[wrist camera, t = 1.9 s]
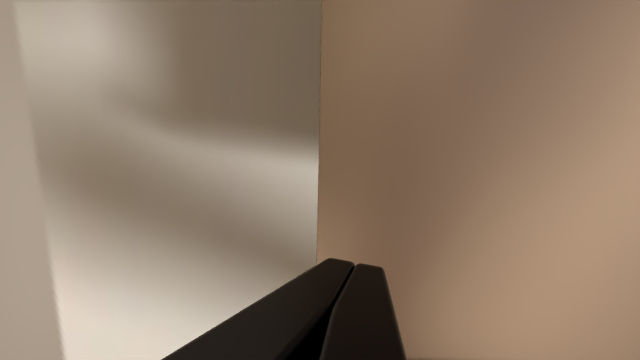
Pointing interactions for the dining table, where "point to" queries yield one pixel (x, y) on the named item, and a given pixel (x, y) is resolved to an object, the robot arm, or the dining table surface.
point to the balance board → (488, 171)
